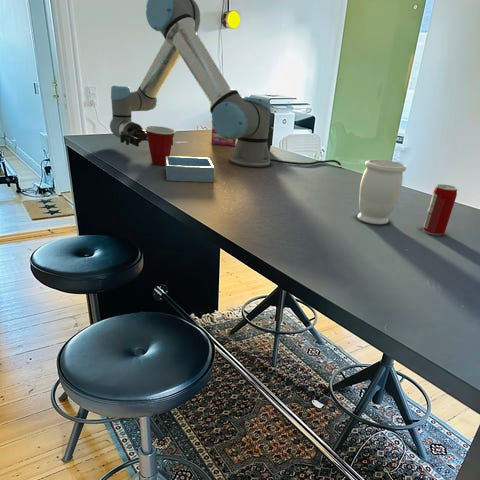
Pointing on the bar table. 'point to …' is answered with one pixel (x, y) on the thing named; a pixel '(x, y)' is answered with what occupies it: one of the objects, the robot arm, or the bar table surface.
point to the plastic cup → (159, 143)
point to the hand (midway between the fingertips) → (155, 142)
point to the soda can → (440, 209)
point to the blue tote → (189, 169)
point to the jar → (379, 190)
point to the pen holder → (269, 138)
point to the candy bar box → (221, 139)
